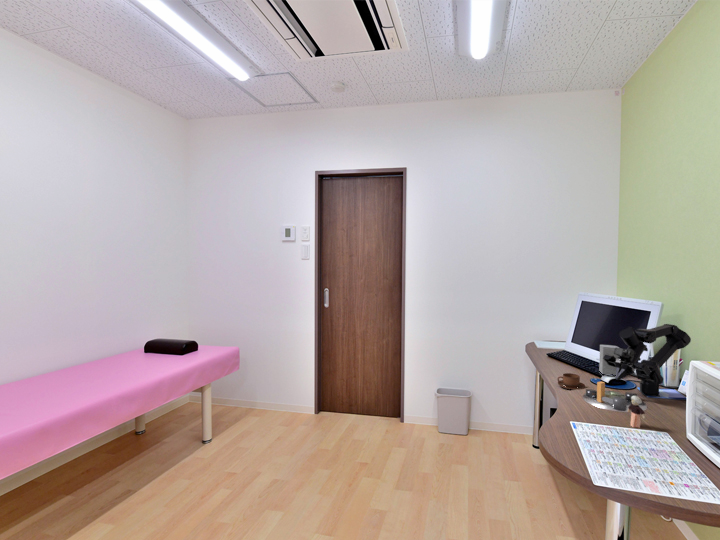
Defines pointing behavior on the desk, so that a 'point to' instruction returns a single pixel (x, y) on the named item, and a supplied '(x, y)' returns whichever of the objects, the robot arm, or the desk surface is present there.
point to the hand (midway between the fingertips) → (616, 379)
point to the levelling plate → (610, 406)
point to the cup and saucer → (571, 381)
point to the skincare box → (603, 366)
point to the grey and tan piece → (617, 402)
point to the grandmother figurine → (636, 411)
